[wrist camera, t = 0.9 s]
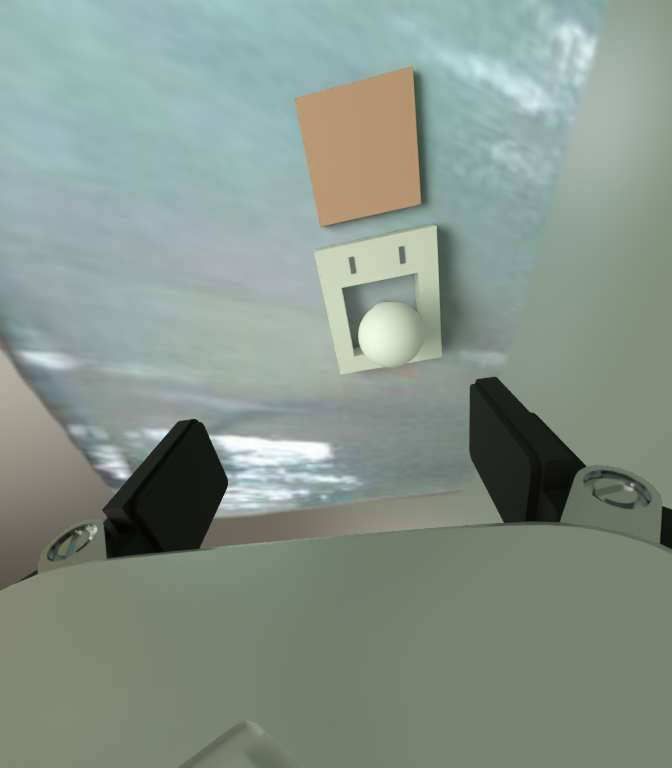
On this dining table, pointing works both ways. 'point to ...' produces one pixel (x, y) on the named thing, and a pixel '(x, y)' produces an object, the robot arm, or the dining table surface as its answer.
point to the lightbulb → (391, 334)
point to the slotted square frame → (380, 262)
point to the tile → (362, 147)
